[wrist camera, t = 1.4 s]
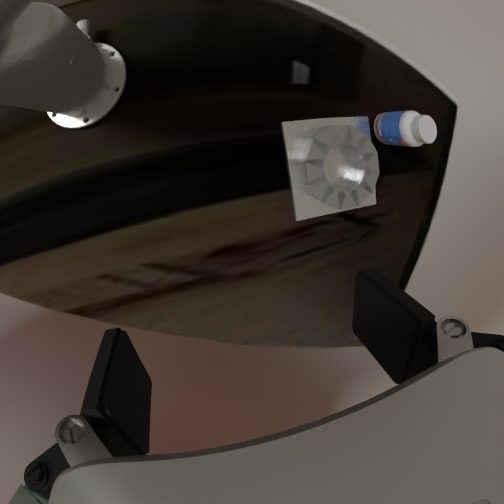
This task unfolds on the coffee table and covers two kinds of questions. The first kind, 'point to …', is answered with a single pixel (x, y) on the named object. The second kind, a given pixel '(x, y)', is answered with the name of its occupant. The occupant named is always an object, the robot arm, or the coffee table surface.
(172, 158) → the coffee table surface
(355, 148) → the ring socket
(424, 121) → the pill bottle
